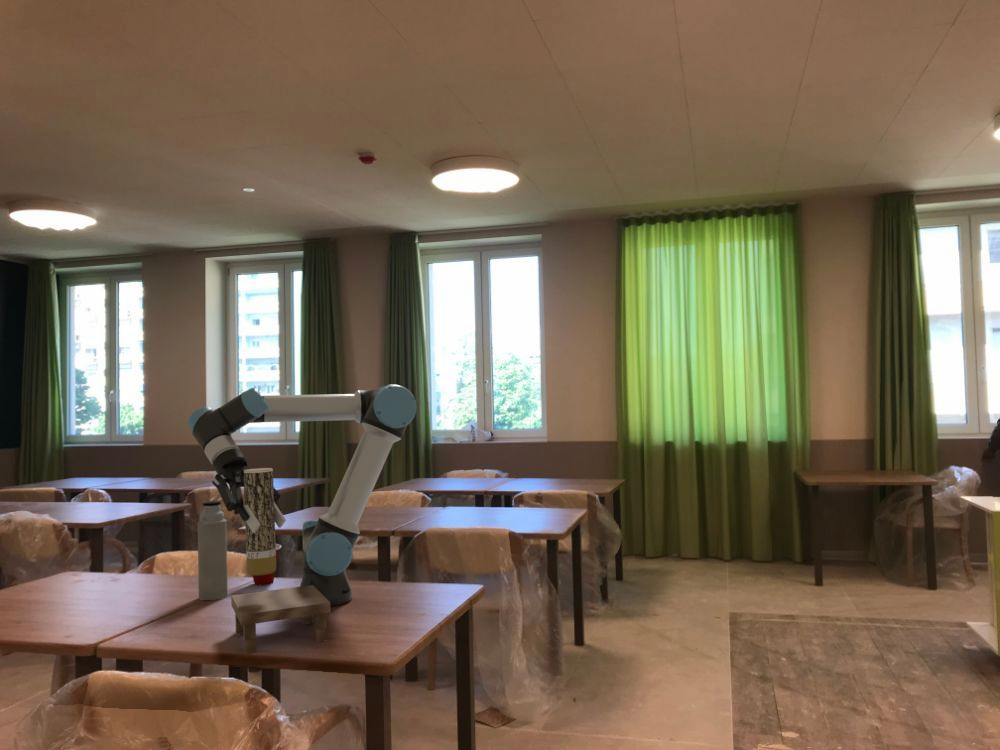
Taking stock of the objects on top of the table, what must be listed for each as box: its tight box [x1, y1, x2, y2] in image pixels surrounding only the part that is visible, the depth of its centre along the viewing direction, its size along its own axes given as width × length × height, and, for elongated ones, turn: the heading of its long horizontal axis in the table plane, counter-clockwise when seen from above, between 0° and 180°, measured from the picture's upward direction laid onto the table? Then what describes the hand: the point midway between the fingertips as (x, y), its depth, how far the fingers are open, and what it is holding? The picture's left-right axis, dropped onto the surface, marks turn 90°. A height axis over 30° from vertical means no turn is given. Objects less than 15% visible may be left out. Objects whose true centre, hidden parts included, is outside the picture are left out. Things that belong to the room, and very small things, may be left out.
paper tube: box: [243, 467, 277, 576], centre depth 183 cm, size 7×7×25 cm
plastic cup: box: [252, 543, 282, 586], centre depth 238 cm, size 11×11×12 cm
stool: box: [230, 585, 331, 655], centre depth 182 cm, size 20×20×9 cm
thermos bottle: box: [197, 500, 229, 601], centre depth 223 cm, size 8×8×28 cm
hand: (269, 526), depth 181 cm, fingers closed on paper tube, 7 cm apart
